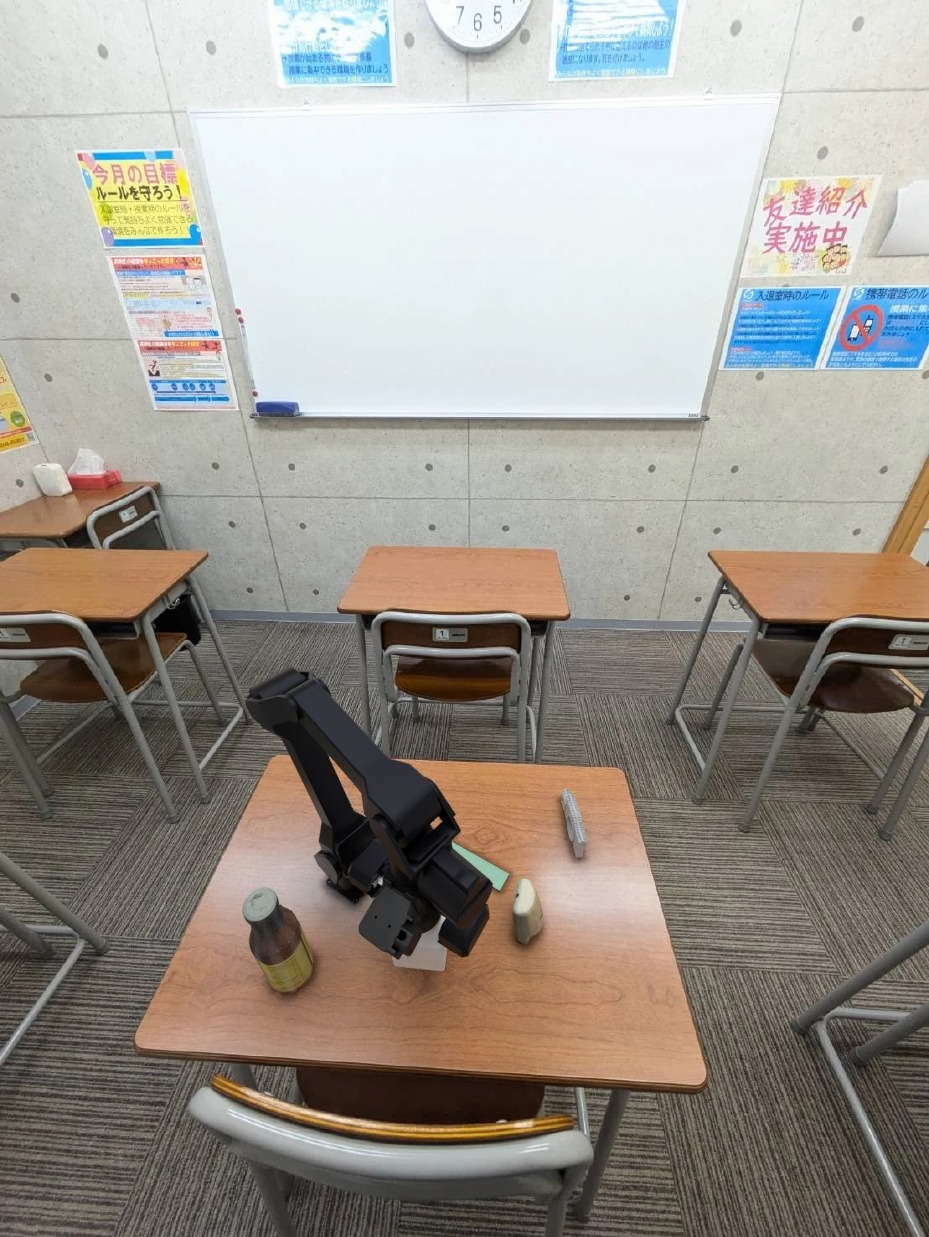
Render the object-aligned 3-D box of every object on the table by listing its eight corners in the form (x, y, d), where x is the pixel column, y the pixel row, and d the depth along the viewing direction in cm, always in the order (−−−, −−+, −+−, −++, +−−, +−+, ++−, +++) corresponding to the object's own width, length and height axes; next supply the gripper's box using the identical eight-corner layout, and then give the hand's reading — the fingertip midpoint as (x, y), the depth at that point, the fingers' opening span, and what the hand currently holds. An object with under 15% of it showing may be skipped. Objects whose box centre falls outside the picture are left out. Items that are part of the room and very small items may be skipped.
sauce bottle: (278, 947, 76) (245, 872, 65) (321, 948, 76) (294, 873, 65) (263, 999, 70) (223, 926, 59) (308, 1000, 70) (276, 928, 59)
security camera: (451, 918, 76) (448, 873, 69) (444, 972, 70) (440, 928, 64) (403, 913, 77) (396, 868, 70) (393, 967, 71) (384, 923, 64)
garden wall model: (559, 799, 96) (562, 778, 93) (569, 799, 97) (572, 778, 93) (574, 860, 86) (578, 839, 83) (585, 859, 87) (589, 838, 83)
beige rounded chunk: (501, 910, 80) (502, 882, 75) (532, 900, 81) (535, 871, 77) (515, 949, 75) (518, 921, 71) (548, 937, 77) (552, 908, 72)
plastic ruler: (423, 846, 89) (423, 845, 89) (433, 832, 91) (433, 831, 91) (499, 891, 82) (499, 890, 82) (509, 874, 85) (509, 873, 84)
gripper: (308, 876, 61) (329, 941, 69) (439, 968, 53) (444, 1029, 61) (370, 807, 69) (382, 873, 77) (492, 878, 60) (490, 942, 69)
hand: (420, 925), depth 71 cm, fingers closed on security camera, 9 cm apart
